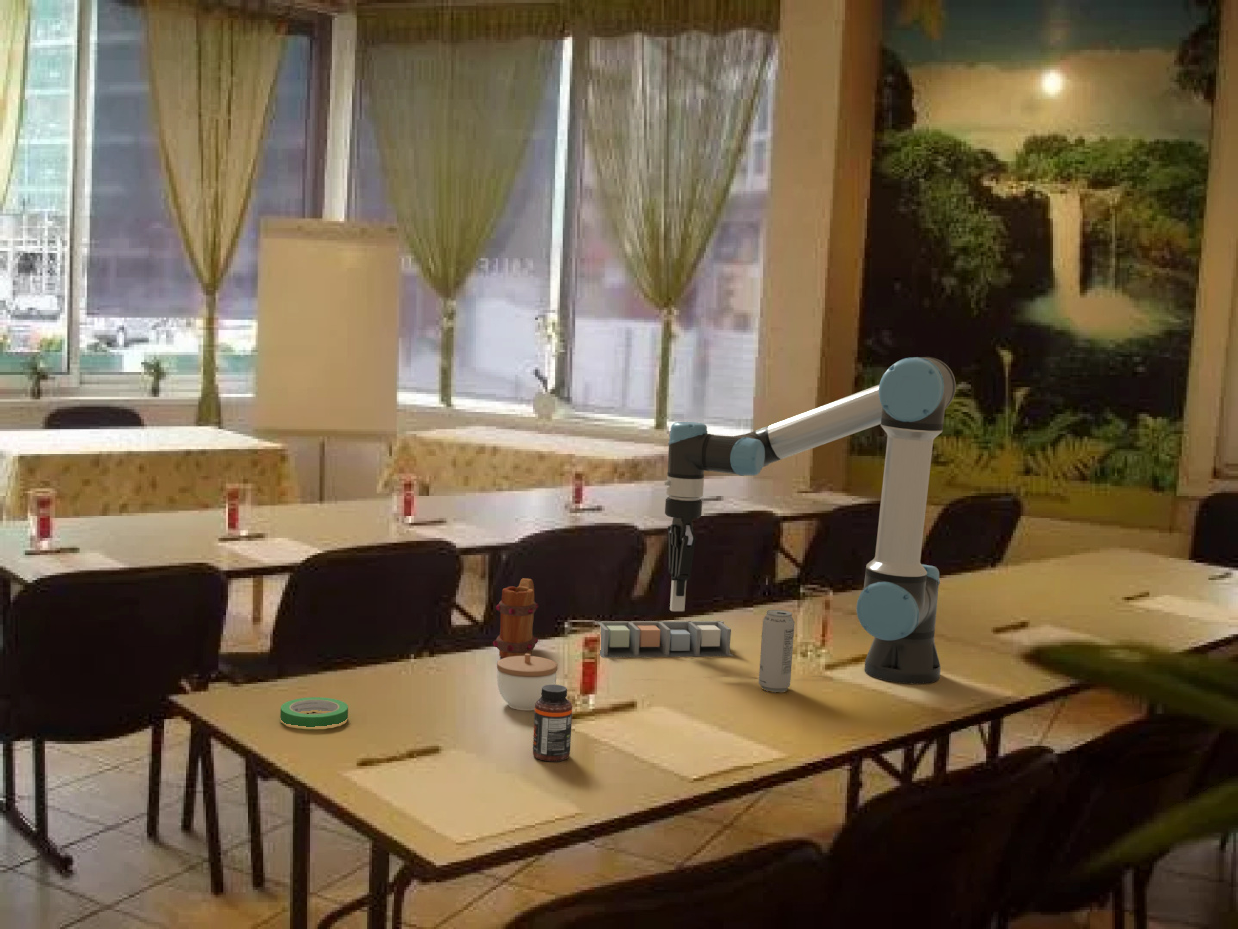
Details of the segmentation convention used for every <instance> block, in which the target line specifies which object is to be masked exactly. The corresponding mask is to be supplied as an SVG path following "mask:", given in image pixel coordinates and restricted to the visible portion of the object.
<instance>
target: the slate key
mask: <svg viewBox="0 0 1238 929" xmlns="http://www.w3.org/2000/svg"><path fill="white" fill-rule="evenodd" d="M690 635H691V634H690V633H689V632H687V631H686V630H685V629H671V632H670V649H669V650H671V651H690Z"/></svg>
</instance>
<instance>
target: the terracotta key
mask: <svg viewBox="0 0 1238 929" xmlns="http://www.w3.org/2000/svg"><path fill="white" fill-rule="evenodd" d="M637 628H639V629H640V637H639V646H640V647H659V646H660V629H659V628H658V627H656V626H655V625H651V626H637Z"/></svg>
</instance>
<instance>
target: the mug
mask: <svg viewBox="0 0 1238 929" xmlns="http://www.w3.org/2000/svg"><path fill="white" fill-rule="evenodd" d="M534 585H535V584H534V581H533V579H531V578H523V577H522V578H521V579H520V581H519V584H518V586H517V587H516V586H507V587H505V588H503V589H502V591H501V600H500V601H499V603H498V604H496V605H495V609H496V611H498V612H500V631H499V635H498V636H497V637H496V639H495V640H494V641H493V642H492V645H493V646H494V647H495V648H496V649H497V650H498V651H499V654H498V655H499V657H500V658H501V659H503V658H507V657H513V656H525V654H531V655H532V652H533V650H534V648H535V647H536V645H537V644H538V642H539V639H538V638H537V637H535V636H534V635H533V627H534V626H533V625H534V624H533V623H534V616H535V615H534V614H535V612H536V611H537V609H538V608H539V604H538V603H536V602H535V586H534Z"/></svg>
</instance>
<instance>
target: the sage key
mask: <svg viewBox="0 0 1238 929" xmlns="http://www.w3.org/2000/svg"><path fill="white" fill-rule="evenodd" d="M606 628H607V629H608V630H609V636H608V646H609V647H629V636H630V630H629V629H628V628H627V627H626V626H606Z"/></svg>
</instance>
